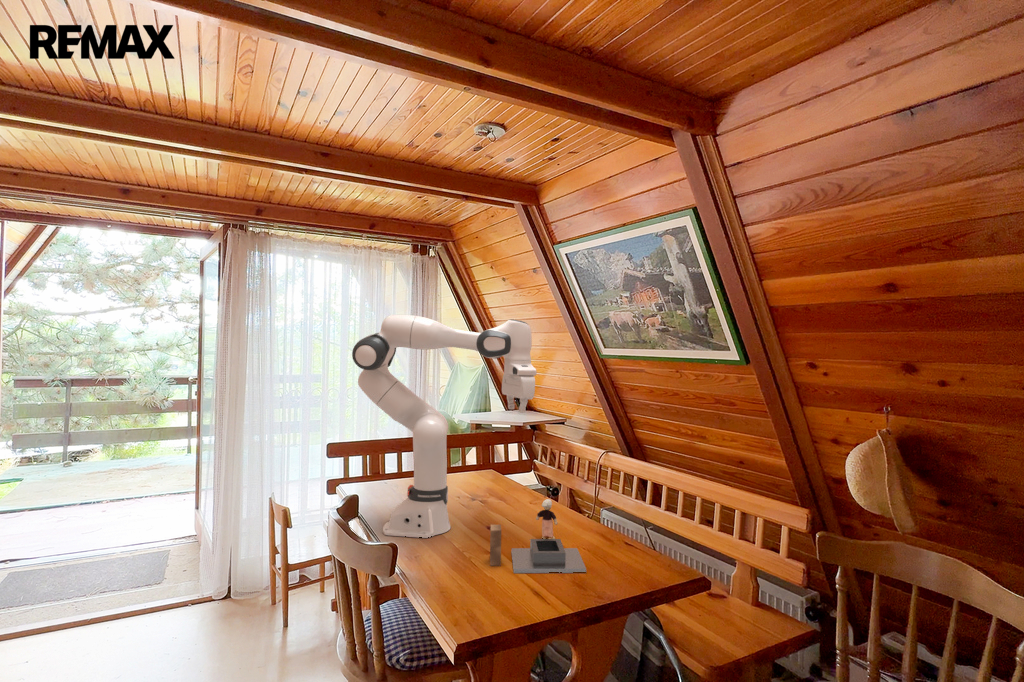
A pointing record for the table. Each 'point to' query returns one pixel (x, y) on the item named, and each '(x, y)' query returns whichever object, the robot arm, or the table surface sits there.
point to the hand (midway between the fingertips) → (516, 410)
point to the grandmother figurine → (547, 519)
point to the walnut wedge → (495, 545)
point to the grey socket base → (547, 558)
